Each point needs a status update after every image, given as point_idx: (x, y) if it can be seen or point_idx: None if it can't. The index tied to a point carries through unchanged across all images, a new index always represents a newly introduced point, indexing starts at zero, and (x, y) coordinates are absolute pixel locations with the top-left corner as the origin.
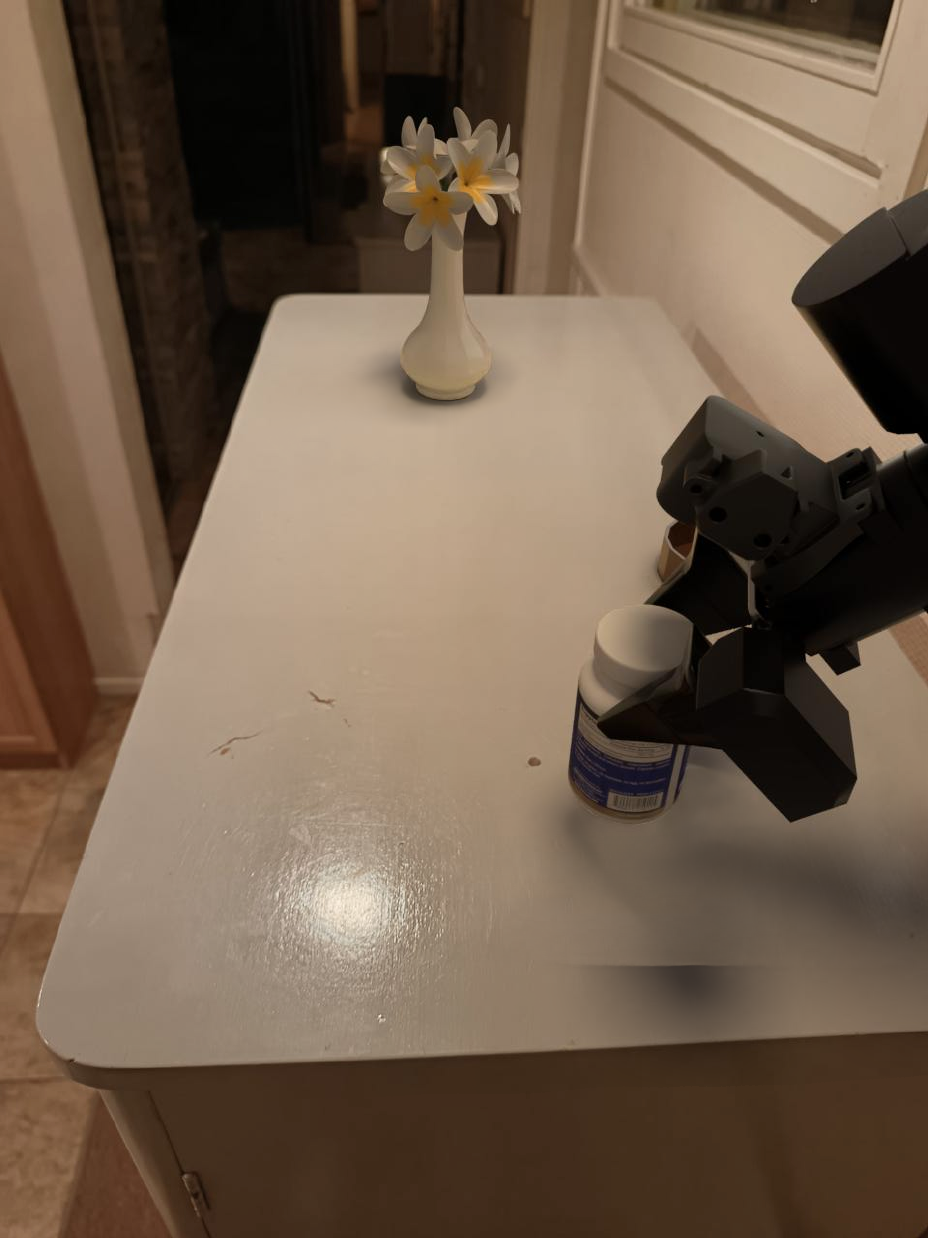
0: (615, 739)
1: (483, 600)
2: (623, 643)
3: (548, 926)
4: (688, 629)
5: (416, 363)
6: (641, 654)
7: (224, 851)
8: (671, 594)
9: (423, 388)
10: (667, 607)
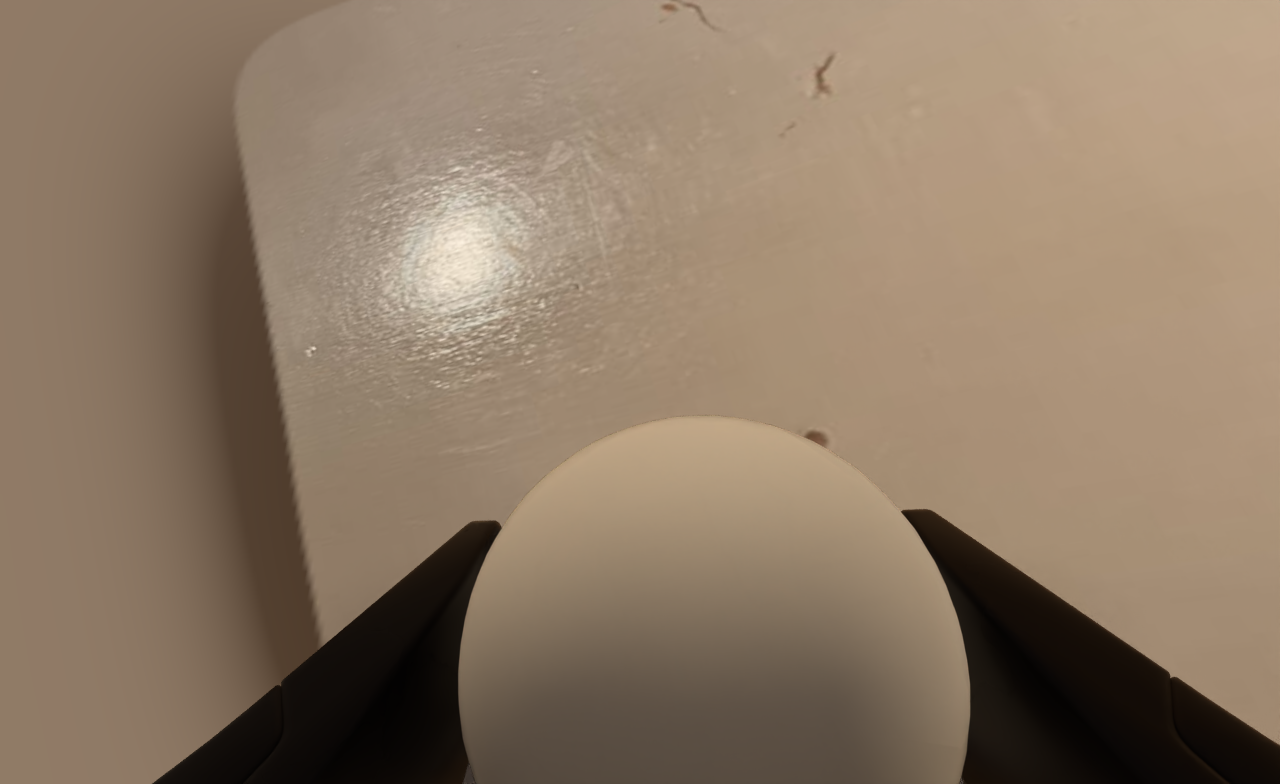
0: None
1: (1243, 234)
2: (616, 543)
3: None
4: None
5: None
6: (556, 636)
7: (504, 84)
8: (1099, 756)
9: None
10: (1042, 729)
